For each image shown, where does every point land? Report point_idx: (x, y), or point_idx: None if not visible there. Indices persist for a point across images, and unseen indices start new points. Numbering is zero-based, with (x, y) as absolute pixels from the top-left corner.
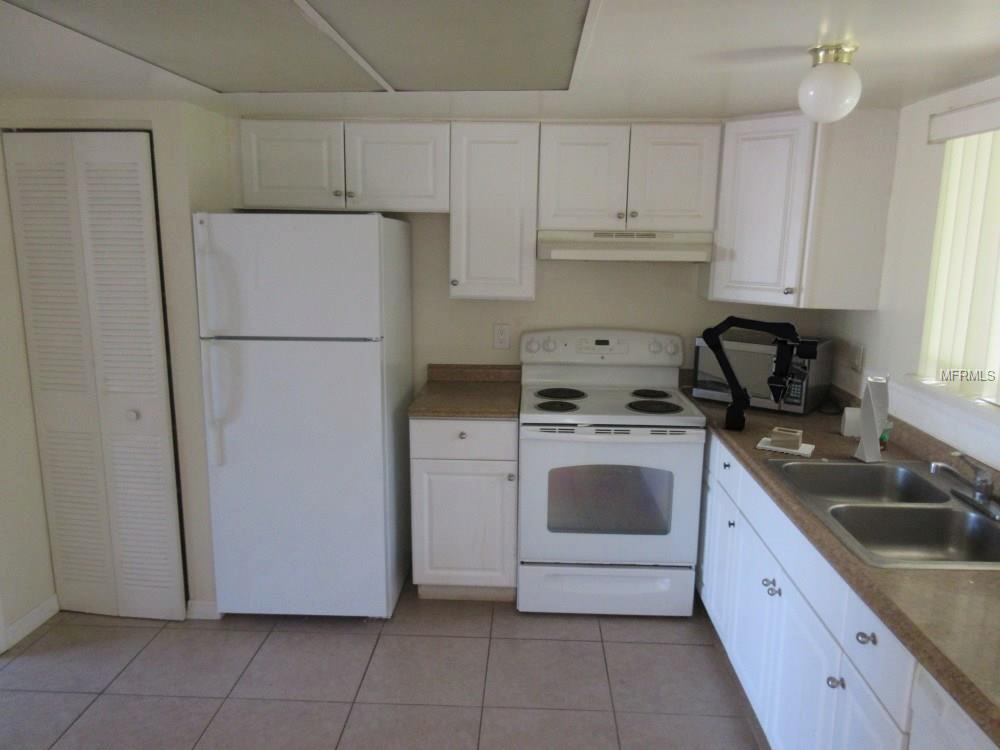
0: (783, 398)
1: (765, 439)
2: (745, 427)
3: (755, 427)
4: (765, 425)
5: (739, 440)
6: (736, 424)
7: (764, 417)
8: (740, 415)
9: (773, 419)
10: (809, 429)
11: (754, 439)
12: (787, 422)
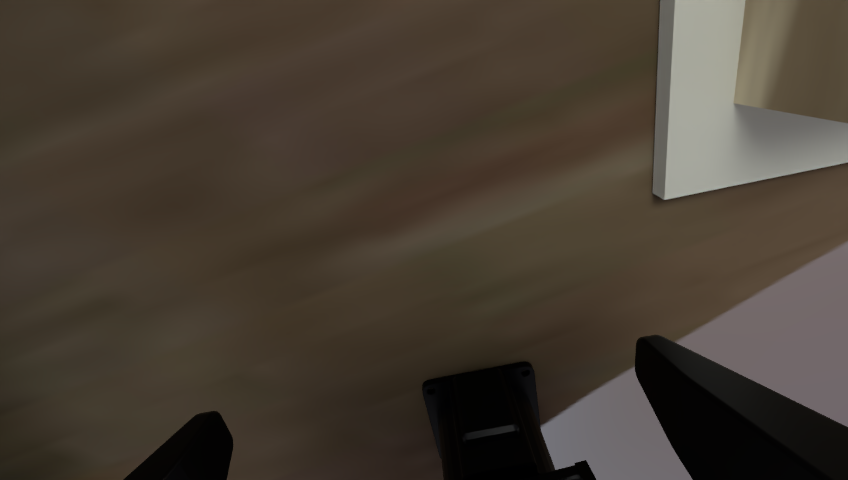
0: (215, 419)
1: (719, 168)
2: (472, 374)
3: (358, 351)
4: (250, 334)
5: (740, 289)
6: (534, 416)
7: (54, 414)
8: (538, 462)
9: (38, 364)
10: (18, 59)
11: (664, 240)
12: (6, 274)
